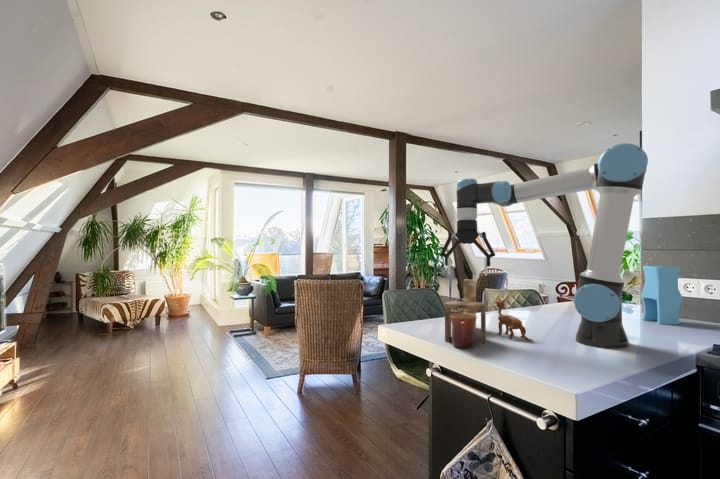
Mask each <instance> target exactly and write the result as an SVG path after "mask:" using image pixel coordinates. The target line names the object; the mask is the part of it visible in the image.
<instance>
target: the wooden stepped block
mask: <svg viewBox="0 0 720 479" xmlns="http://www.w3.org/2000/svg"><path fill="white" fill-rule="evenodd" d="M463 302H477V280H476V279H466V278H465V279H463ZM462 314H471V315H475V316H477V309H464V308H463V312H462ZM476 329H477V320H476V321H475V326H474V331H475V332H476Z"/></svg>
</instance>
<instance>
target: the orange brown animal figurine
mask: <svg viewBox="0 0 720 479" xmlns="http://www.w3.org/2000/svg"><path fill="white" fill-rule="evenodd" d="M505 302H506V300H505V298H504V299H503V300H501V298H500V297H498V300H496V301H495V305H496V307H497V308H498V312H497V313H498V314H499V315H498V317H497V319H498V333H496V335H497V336H501V335H502V334H503V335H509V336H508V337H507V338H508V339H510V340H512V339H513V337H514V335H515V333H514V330H519V331H520V334H521V335H520V336H519V337H520V338H521V339H525V340H526V341H529V342H534V340H533V339H531V338H529V337H527V336H526V333H527V330H526V328H525V326H524V325H523V322H522V320H520V319H519V318H517V317H514V316H513V315H511V314H510V315H509V314H505V315H504V314H502V309H504V308H505ZM503 325H505V332H504V333H503ZM509 333H510V334H509Z"/></svg>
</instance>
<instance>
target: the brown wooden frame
mask: <svg viewBox="0 0 720 479" xmlns="http://www.w3.org/2000/svg"><path fill="white" fill-rule="evenodd" d="M452 309H463V310H464V309H476V310H480V344H481V346H482V345H483V346H485V345H486V341H487V336H486V334H487V333H486V331H487V330H486V329H487V328H486V327H487V326H486V302H479V301H478V302H477V301H476V302H464V301H458V300H457V301H455V300H447V301H446V302H445V303H444V341H445V342H450V340H451V339H452V322H451V318H450V315H451V314H452Z"/></svg>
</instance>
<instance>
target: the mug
mask: <svg viewBox="0 0 720 479" xmlns="http://www.w3.org/2000/svg"><path fill="white" fill-rule="evenodd" d="M450 318H451V342H452V346H454V347H456V348H457V349H462V350H463V349H464V350H465V349H466V350H468V349H472V348H473V347H475V343H476V342H475V341H476V337H475V335H476V334H475V333H476V330H475V331H474V326H475V321H476V322H477V319H478V318H477V315H476V316H475V315H471V314H463V313H451V315H450Z"/></svg>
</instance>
